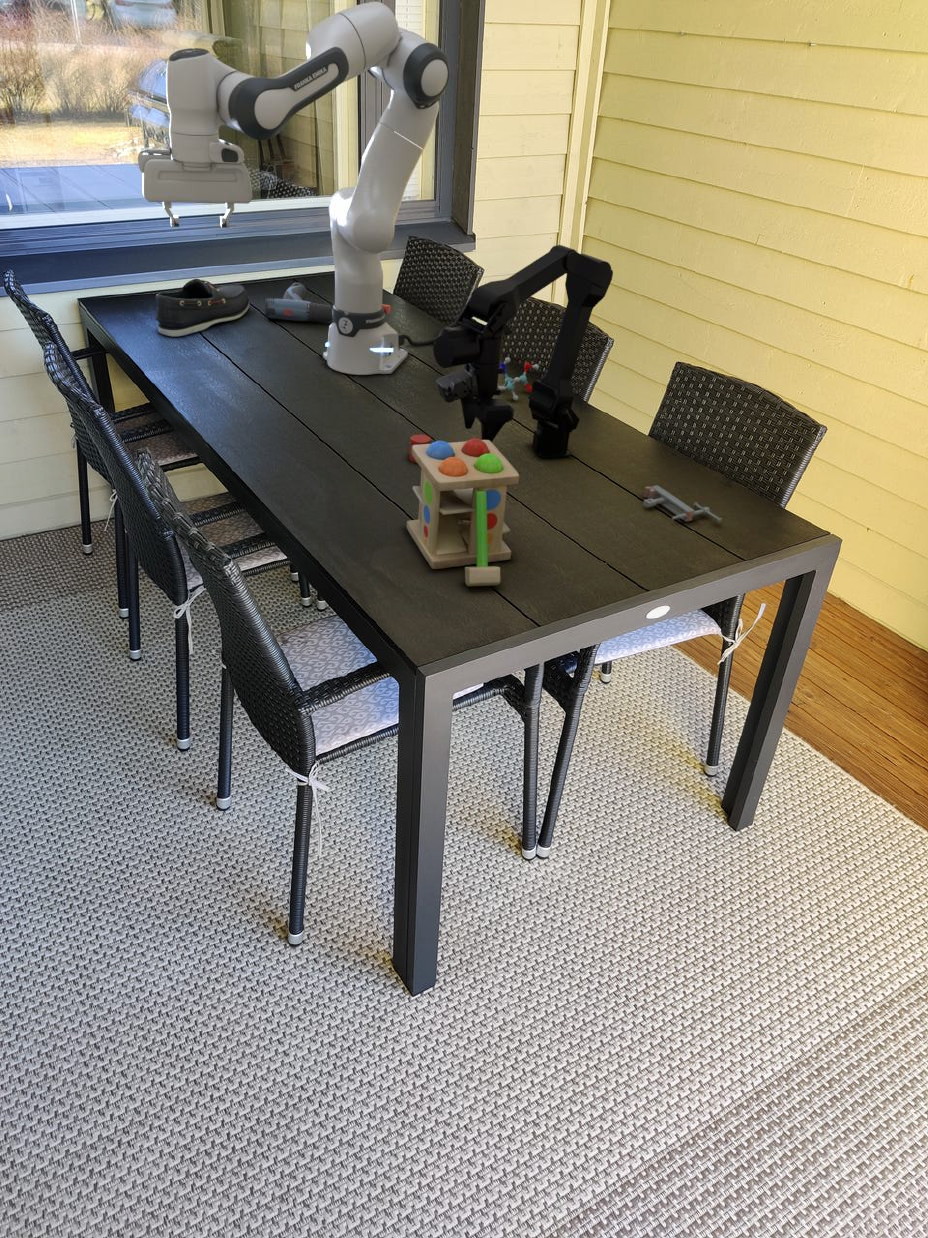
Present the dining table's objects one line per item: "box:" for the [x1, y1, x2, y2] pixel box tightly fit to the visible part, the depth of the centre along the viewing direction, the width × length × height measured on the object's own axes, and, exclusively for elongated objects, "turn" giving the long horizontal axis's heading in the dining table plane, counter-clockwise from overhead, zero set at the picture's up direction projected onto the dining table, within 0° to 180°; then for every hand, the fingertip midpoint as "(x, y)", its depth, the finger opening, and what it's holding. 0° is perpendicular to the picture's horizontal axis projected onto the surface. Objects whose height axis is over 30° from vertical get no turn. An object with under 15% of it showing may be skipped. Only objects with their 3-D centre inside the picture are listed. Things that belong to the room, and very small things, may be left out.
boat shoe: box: [155, 278, 250, 337], centre depth 253 cm, size 13×33×10 cm, turn 147°
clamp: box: [643, 484, 723, 524], centre depth 186 cm, size 15×2×10 cm
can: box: [409, 433, 432, 464], centre depth 196 cm, size 4×4×4 cm
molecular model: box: [497, 356, 540, 402], centre depth 228 cm, size 12×10×10 cm
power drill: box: [264, 282, 333, 322], centre depth 265 cm, size 5×19×20 cm
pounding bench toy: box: [406, 438, 520, 587], centre depth 162 cm, size 23×14×18 cm, turn 20°
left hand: (200, 226), depth 190 cm, fingers open, 8 cm apart
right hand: (476, 437), depth 189 cm, fingers open, 9 cm apart
